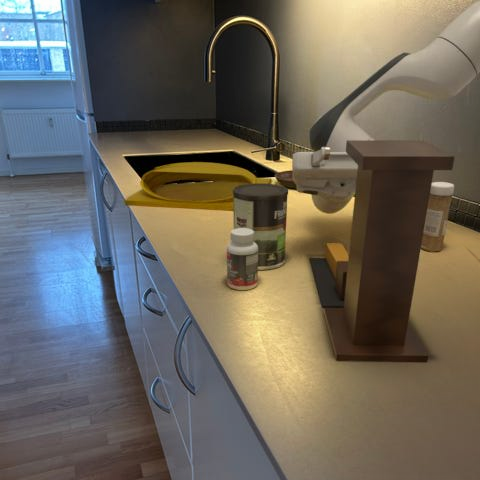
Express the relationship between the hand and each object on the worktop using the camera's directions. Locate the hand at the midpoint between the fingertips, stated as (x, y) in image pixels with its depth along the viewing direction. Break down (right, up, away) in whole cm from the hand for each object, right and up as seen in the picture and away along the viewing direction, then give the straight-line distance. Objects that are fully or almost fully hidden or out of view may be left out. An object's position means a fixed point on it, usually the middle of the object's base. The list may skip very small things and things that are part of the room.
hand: (353, 151), depth 89 cm
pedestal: (-1, -32, -15) cm, 35 cm away
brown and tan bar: (-1, -22, +4) cm, 22 cm away
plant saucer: (0, +13, +72) cm, 73 cm away
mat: (0, -22, +3) cm, 23 cm away
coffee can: (-16, -18, +12) cm, 27 cm away
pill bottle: (-19, -23, +2) cm, 30 cm away
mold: (-30, +8, +62) cm, 70 cm away
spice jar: (+20, -15, +18) cm, 31 cm away
